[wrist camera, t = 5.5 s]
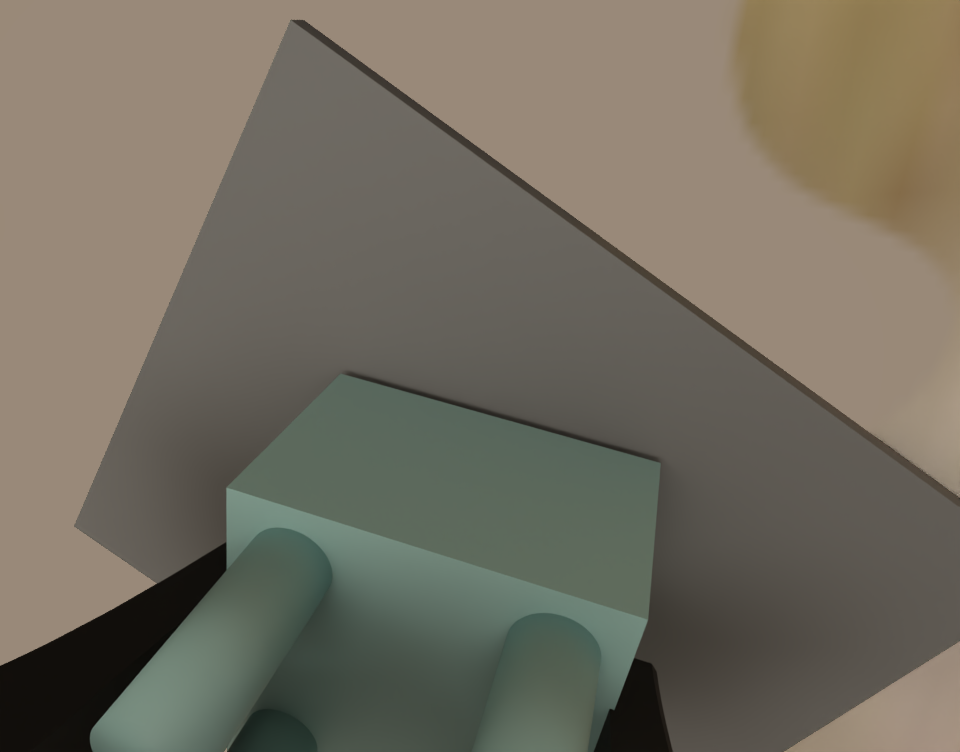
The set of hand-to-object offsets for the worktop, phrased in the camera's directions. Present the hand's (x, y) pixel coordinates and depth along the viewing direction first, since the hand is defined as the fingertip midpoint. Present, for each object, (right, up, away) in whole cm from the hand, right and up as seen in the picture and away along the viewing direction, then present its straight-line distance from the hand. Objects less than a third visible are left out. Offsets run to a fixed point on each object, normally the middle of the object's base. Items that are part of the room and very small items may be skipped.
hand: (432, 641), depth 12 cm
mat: (+1, +1, +2) cm, 3 cm away
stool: (+1, +1, +2) cm, 2 cm away
